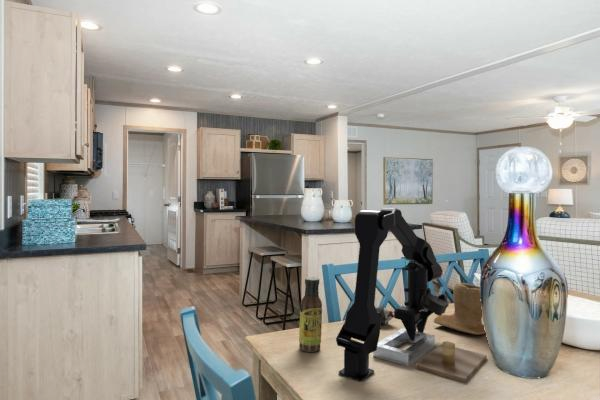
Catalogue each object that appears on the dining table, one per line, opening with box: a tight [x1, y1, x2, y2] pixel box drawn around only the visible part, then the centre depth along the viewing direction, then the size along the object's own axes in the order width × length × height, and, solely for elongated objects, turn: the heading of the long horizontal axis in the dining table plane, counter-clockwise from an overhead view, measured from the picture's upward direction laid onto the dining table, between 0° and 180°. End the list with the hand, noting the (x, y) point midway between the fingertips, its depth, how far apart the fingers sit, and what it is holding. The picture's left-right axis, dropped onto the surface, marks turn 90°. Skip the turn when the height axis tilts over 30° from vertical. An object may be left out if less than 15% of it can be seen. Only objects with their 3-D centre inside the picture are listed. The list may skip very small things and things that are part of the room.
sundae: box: [375, 304, 395, 326], centre depth 135 cm, size 7×7×15 cm
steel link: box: [372, 327, 436, 367], centre depth 112 cm, size 18×10×3 cm, turn 141°
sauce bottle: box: [298, 276, 323, 353], centre depth 113 cm, size 6×6×20 cm
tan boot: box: [433, 282, 486, 336], centre depth 130 cm, size 15×12×15 cm
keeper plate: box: [415, 341, 488, 384], centre depth 104 cm, size 18×12×6 cm, turn 141°
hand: (416, 337), depth 118 cm, fingers open, 6 cm apart
